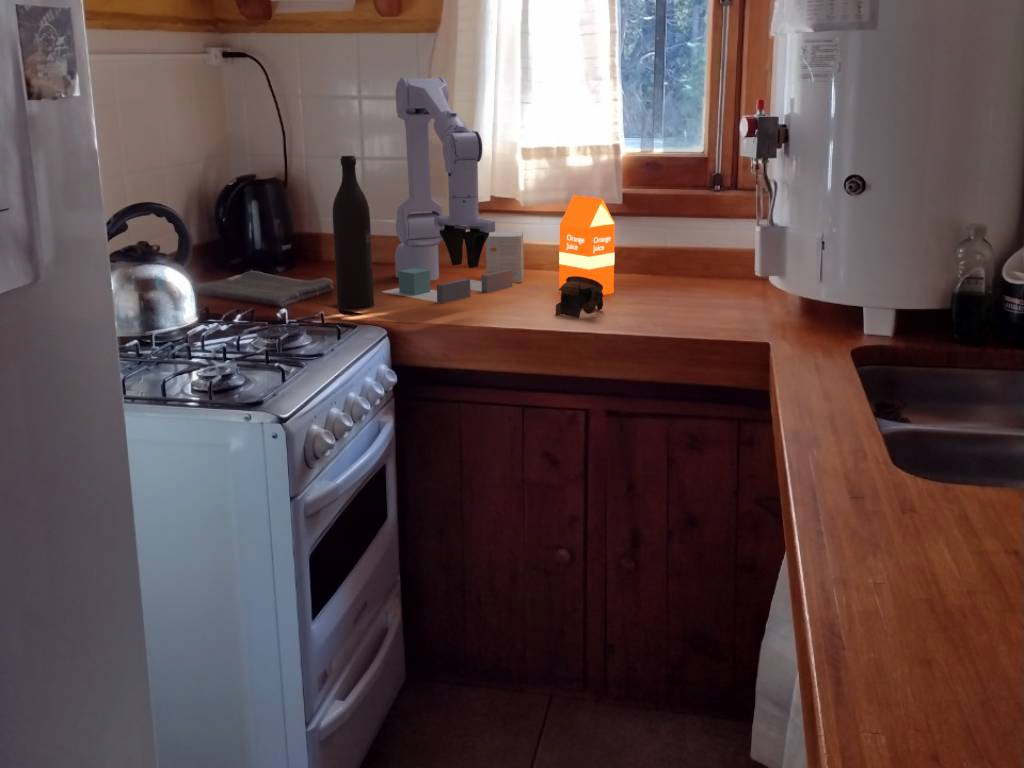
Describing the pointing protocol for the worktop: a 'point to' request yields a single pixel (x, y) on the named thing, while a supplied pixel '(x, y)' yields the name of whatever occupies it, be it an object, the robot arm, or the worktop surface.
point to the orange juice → (587, 242)
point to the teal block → (414, 281)
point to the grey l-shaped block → (493, 281)
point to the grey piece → (442, 292)
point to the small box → (505, 254)
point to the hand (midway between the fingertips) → (465, 266)
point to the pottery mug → (579, 296)
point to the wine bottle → (352, 243)
